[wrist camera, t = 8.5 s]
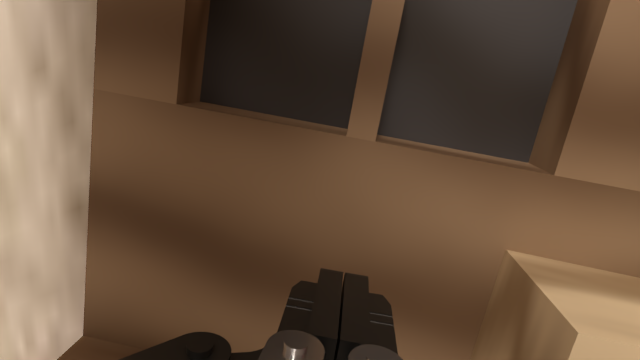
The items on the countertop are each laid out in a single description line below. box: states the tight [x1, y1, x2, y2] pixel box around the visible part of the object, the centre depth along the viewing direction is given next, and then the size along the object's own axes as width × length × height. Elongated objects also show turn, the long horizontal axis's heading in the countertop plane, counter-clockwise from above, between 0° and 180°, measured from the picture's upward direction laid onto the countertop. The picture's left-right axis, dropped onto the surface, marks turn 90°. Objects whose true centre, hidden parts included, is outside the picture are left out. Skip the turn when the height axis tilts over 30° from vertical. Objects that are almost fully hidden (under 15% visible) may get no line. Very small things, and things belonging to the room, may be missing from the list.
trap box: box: [57, 0, 640, 360], centre depth 14 cm, size 17×23×7 cm
